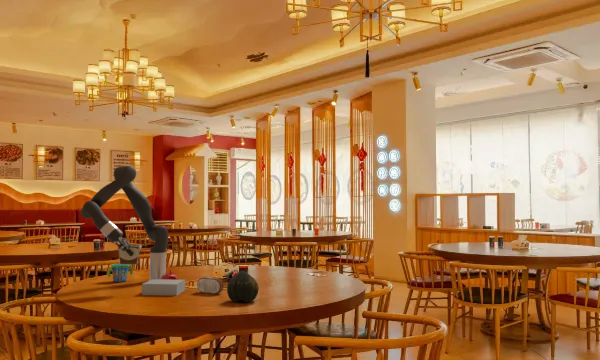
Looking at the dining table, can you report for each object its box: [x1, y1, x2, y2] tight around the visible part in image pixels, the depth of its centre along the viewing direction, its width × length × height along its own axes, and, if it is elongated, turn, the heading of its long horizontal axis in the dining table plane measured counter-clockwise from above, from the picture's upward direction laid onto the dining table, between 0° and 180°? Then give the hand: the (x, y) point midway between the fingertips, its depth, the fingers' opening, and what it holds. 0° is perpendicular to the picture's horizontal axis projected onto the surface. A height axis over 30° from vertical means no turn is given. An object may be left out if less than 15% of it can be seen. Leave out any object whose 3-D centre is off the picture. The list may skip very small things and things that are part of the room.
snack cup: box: [107, 263, 134, 283], centre depth 305 cm, size 16×10×10 cm
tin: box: [196, 276, 224, 295], centre depth 266 cm, size 15×3×8 cm, turn 65°
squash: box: [226, 270, 260, 303], centre depth 245 cm, size 14×15×15 cm
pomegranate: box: [161, 269, 179, 280], centre depth 287 cm, size 10×10×9 cm
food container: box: [117, 243, 142, 266], centre depth 268 cm, size 12×6×10 cm, turn 84°
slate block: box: [141, 279, 186, 297], centre depth 267 cm, size 16×18×6 cm
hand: (134, 254), depth 268 cm, fingers closed on food container, 6 cm apart
